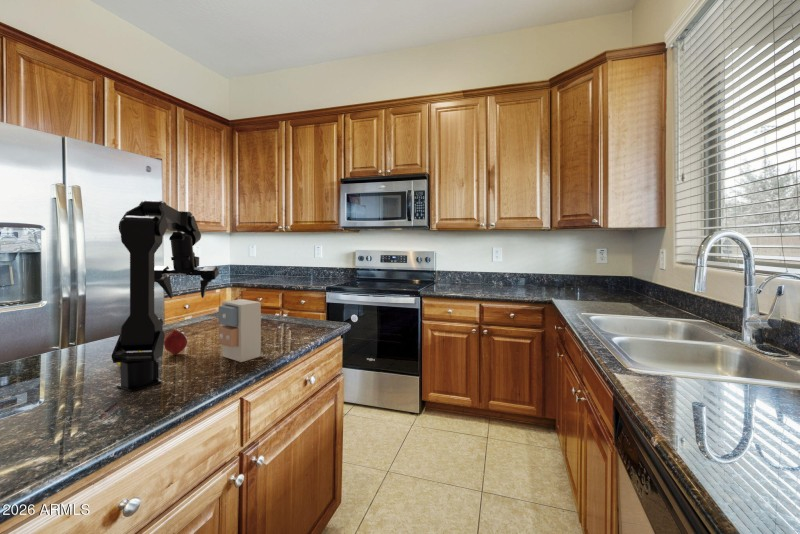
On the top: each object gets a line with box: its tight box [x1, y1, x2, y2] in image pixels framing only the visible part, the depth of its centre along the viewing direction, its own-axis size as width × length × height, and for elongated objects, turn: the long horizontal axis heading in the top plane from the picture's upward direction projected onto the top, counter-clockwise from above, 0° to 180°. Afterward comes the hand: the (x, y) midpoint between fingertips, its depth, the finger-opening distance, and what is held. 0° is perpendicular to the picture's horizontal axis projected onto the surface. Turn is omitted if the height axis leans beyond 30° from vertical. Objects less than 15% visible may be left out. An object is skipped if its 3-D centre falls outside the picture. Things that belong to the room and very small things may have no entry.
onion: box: [164, 327, 188, 356], centre depth 108 cm, size 6×6×8 cm
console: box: [221, 298, 262, 363], centre depth 108 cm, size 6×9×16 cm
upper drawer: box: [218, 305, 238, 326], centre depth 104 cm, size 3×6×5 cm, turn 59°
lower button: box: [218, 325, 239, 347], centre depth 104 cm, size 3×6×5 cm, turn 59°
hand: (187, 297), depth 118 cm, fingers open, 9 cm apart
